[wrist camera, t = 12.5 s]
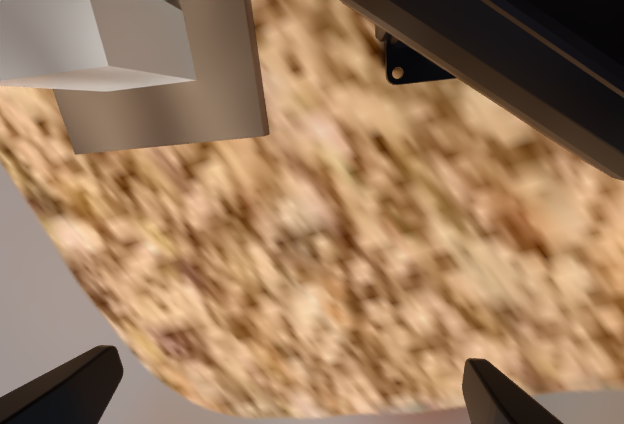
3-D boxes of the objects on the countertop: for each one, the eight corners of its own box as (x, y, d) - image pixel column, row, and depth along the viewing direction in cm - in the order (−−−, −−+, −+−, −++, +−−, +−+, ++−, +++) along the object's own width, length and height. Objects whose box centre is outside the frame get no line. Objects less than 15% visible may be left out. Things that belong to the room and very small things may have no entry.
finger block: (180, 0, 14) (70, -68, 9) (196, 80, 15) (108, 65, 10) (84, 16, 15) (-77, -38, 9) (106, 91, 16) (-26, 84, 10)
